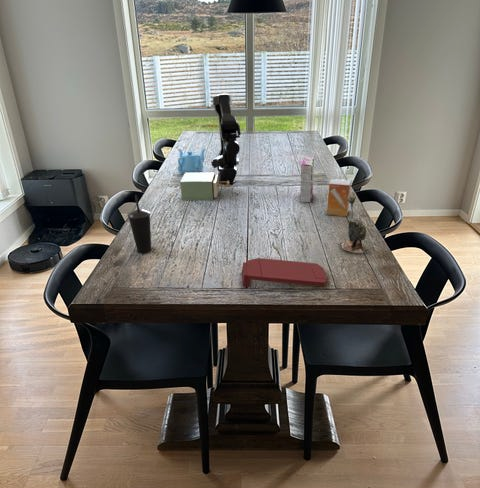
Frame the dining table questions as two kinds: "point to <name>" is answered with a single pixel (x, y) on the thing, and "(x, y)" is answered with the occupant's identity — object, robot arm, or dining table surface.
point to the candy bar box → (307, 179)
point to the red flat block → (283, 272)
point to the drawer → (216, 185)
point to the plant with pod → (355, 232)
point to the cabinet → (197, 186)
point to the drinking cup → (141, 228)
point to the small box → (338, 197)
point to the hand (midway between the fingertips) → (231, 185)
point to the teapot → (190, 162)
